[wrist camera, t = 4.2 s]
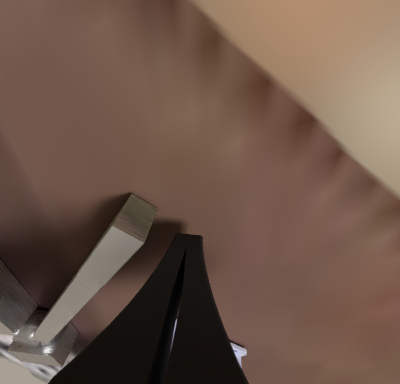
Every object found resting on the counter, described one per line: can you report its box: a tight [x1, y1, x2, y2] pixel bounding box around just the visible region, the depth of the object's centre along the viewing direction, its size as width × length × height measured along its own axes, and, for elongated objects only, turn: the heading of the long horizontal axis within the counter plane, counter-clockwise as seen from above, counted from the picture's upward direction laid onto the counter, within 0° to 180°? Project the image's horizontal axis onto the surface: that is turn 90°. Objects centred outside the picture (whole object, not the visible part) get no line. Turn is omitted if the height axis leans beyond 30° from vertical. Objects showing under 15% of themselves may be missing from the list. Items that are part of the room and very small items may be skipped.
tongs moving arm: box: [13, 194, 158, 347], centre depth 15 cm, size 21×3×2 cm, turn 143°
